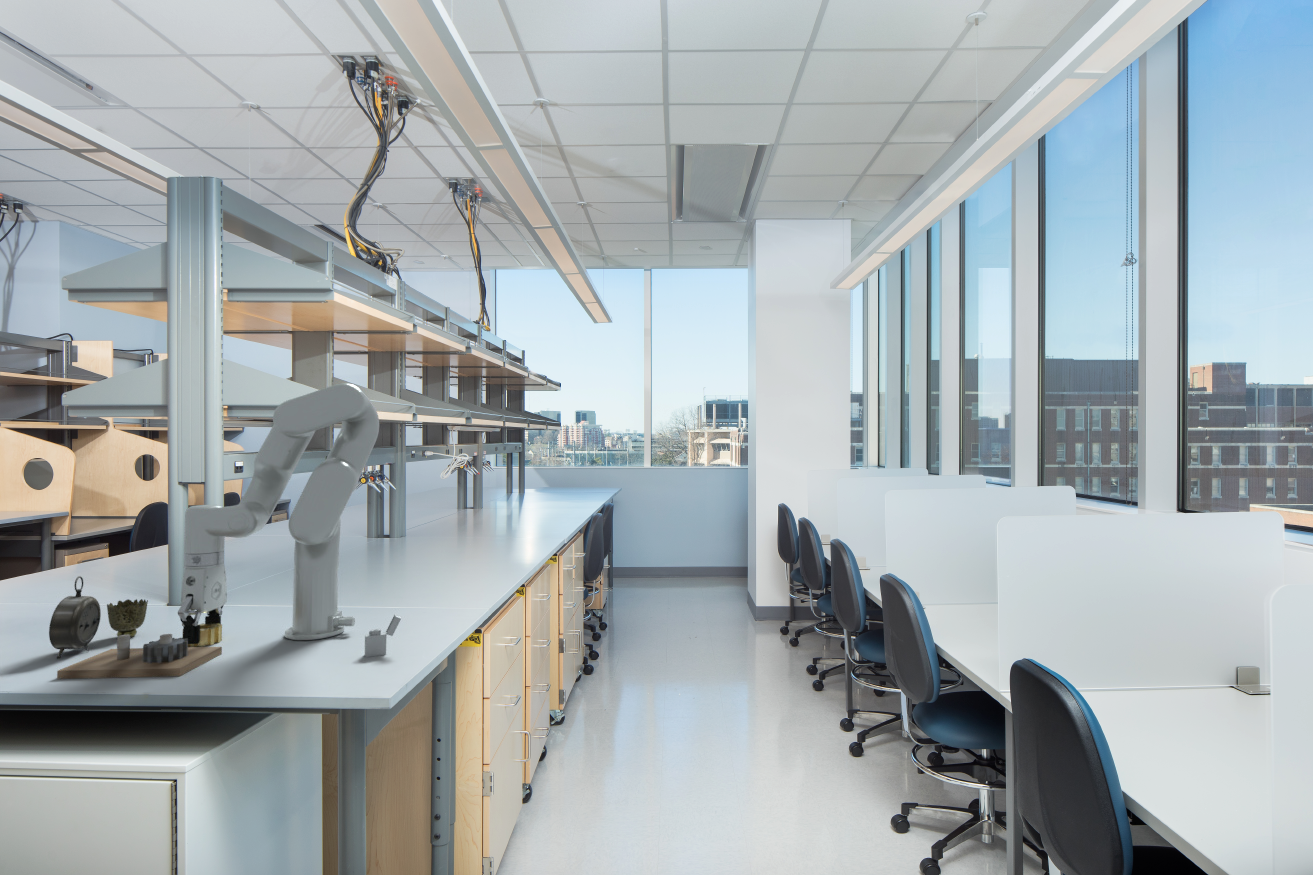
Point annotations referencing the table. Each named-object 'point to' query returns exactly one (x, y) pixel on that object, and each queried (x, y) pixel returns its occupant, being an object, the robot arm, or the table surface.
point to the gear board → (142, 660)
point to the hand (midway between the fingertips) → (202, 637)
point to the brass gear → (209, 634)
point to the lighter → (379, 639)
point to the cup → (127, 616)
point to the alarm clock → (74, 621)
